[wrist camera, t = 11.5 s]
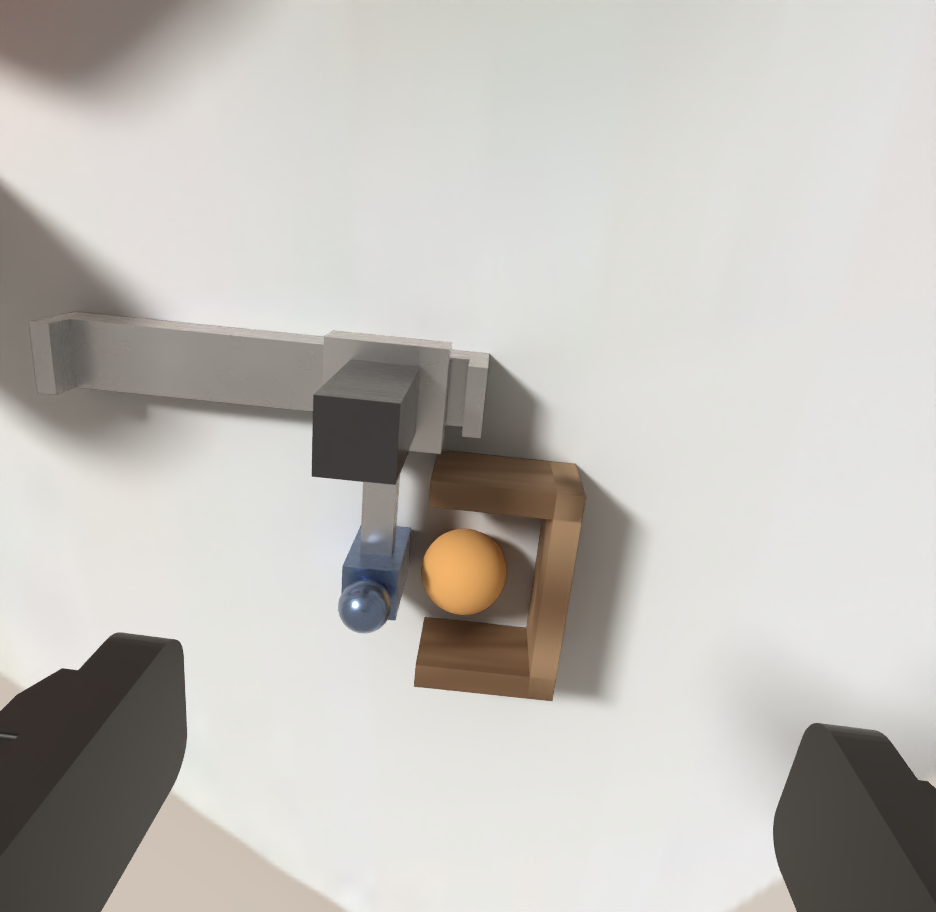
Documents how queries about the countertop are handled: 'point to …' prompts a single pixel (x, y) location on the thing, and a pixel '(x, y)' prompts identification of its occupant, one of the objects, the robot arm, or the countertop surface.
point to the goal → (538, 646)
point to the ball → (463, 571)
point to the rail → (212, 364)
